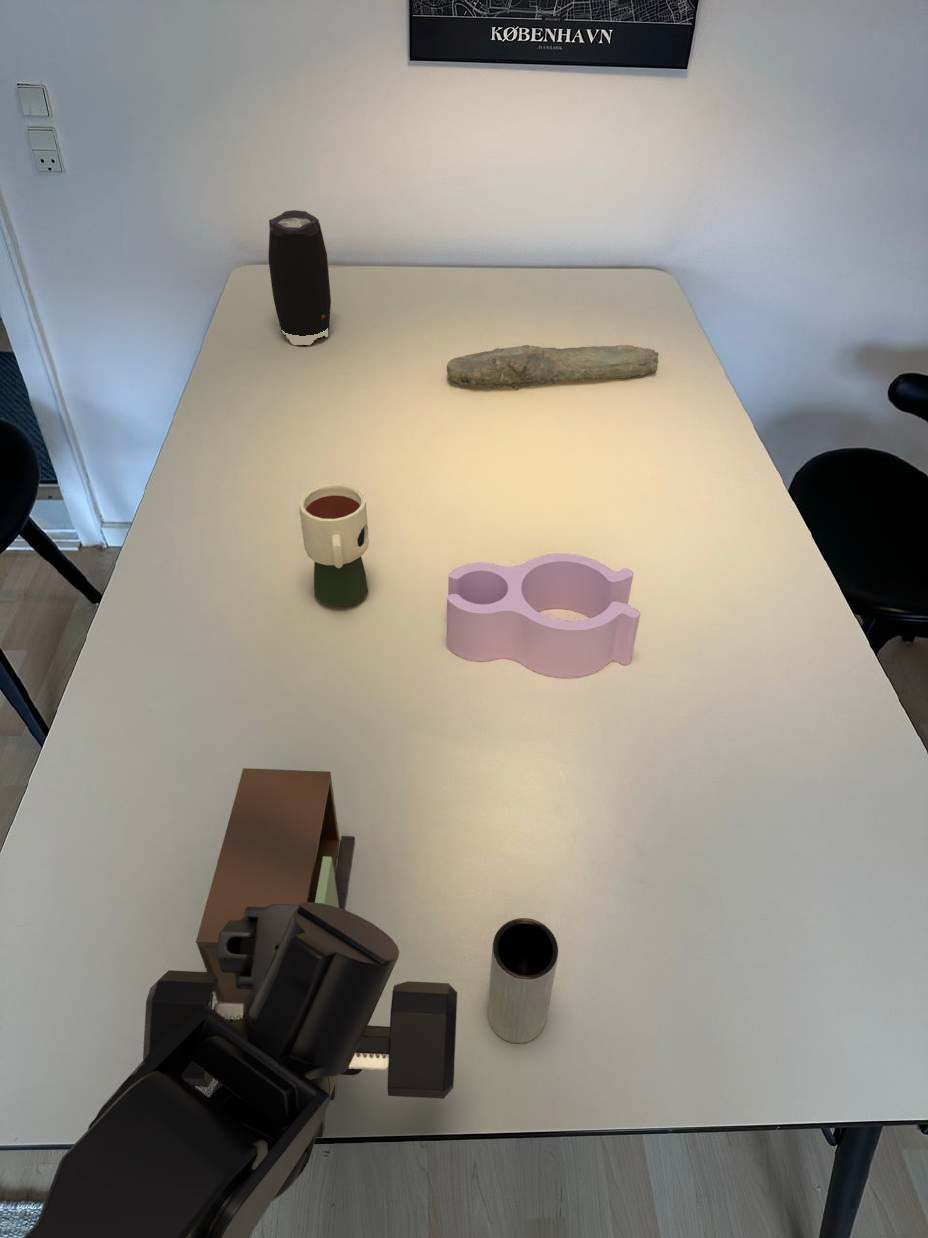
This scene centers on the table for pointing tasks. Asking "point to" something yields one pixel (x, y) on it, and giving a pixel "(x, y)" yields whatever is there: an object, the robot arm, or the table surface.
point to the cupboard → (272, 855)
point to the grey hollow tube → (521, 979)
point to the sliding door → (327, 884)
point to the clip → (514, 629)
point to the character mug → (336, 542)
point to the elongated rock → (550, 365)
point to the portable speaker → (299, 273)
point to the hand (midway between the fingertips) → (326, 984)
